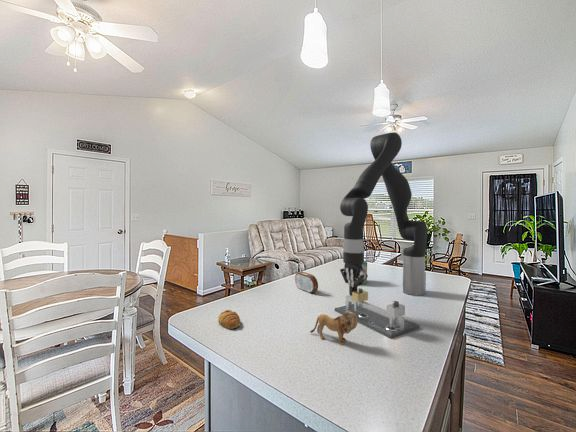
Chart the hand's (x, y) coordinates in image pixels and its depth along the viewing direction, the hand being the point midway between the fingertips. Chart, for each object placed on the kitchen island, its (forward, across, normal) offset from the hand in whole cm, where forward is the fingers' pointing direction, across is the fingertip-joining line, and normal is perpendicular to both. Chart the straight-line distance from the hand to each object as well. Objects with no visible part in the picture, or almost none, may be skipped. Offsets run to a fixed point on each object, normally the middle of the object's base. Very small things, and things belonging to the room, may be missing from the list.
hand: (353, 295), depth 106 cm
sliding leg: (+4, -4, 0) cm, 6 cm away
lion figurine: (+6, -14, +20) cm, 25 cm away
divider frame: (+5, -9, 0) cm, 10 cm away
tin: (+6, +31, +1) cm, 31 cm away
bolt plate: (+6, -9, -1) cm, 11 cm away
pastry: (+6, +13, +44) cm, 46 cm away
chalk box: (+6, +30, -30) cm, 43 cm away
